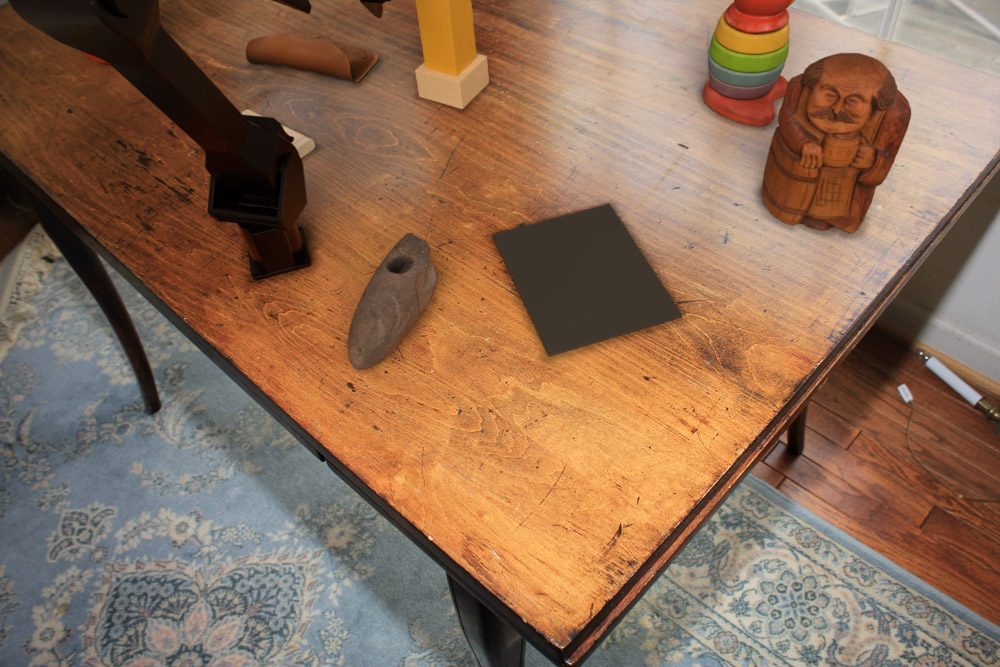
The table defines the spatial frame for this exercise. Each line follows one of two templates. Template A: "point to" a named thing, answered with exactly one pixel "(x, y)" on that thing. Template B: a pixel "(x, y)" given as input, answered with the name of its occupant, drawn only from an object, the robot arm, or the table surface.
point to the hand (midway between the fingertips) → (344, 12)
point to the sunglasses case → (312, 55)
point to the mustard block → (446, 34)
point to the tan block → (453, 83)
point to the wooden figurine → (834, 142)
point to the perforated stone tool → (391, 302)
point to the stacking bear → (748, 60)
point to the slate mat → (583, 279)
